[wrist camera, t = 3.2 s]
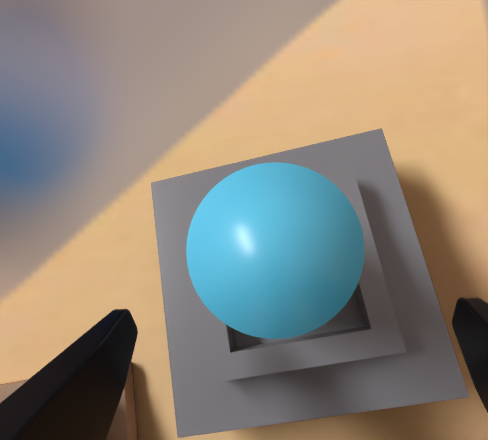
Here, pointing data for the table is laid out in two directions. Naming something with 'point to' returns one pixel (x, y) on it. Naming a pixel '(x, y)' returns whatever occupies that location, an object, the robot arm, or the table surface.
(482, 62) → the table surface
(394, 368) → the upper dock
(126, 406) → the low dock
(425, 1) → the table surface
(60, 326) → the table surface
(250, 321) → the plug
